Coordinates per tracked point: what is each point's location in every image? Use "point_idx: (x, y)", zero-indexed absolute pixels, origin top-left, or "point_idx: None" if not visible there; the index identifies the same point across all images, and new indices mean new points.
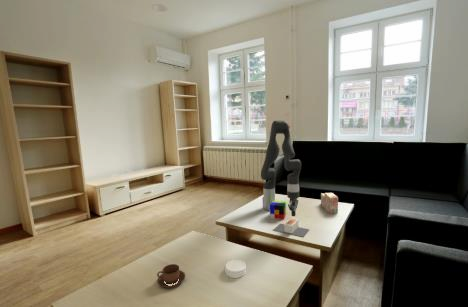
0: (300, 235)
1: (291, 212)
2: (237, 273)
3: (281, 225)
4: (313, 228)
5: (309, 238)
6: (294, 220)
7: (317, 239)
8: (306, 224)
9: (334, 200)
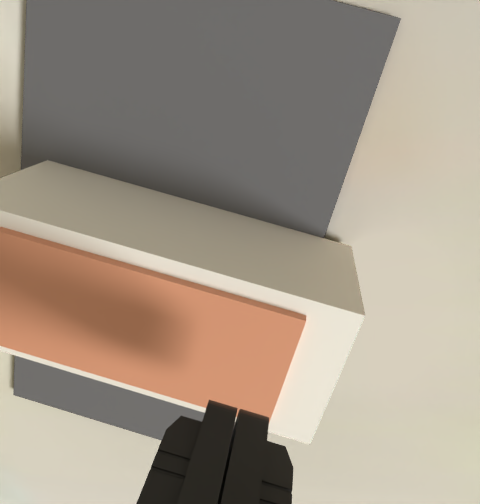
0: (32, 369)
1: (182, 479)
2: None
3: (293, 65)
4: (301, 501)
5: (22, 442)
6: (197, 384)
7: (36, 500)
8: (427, 444)
9: None
